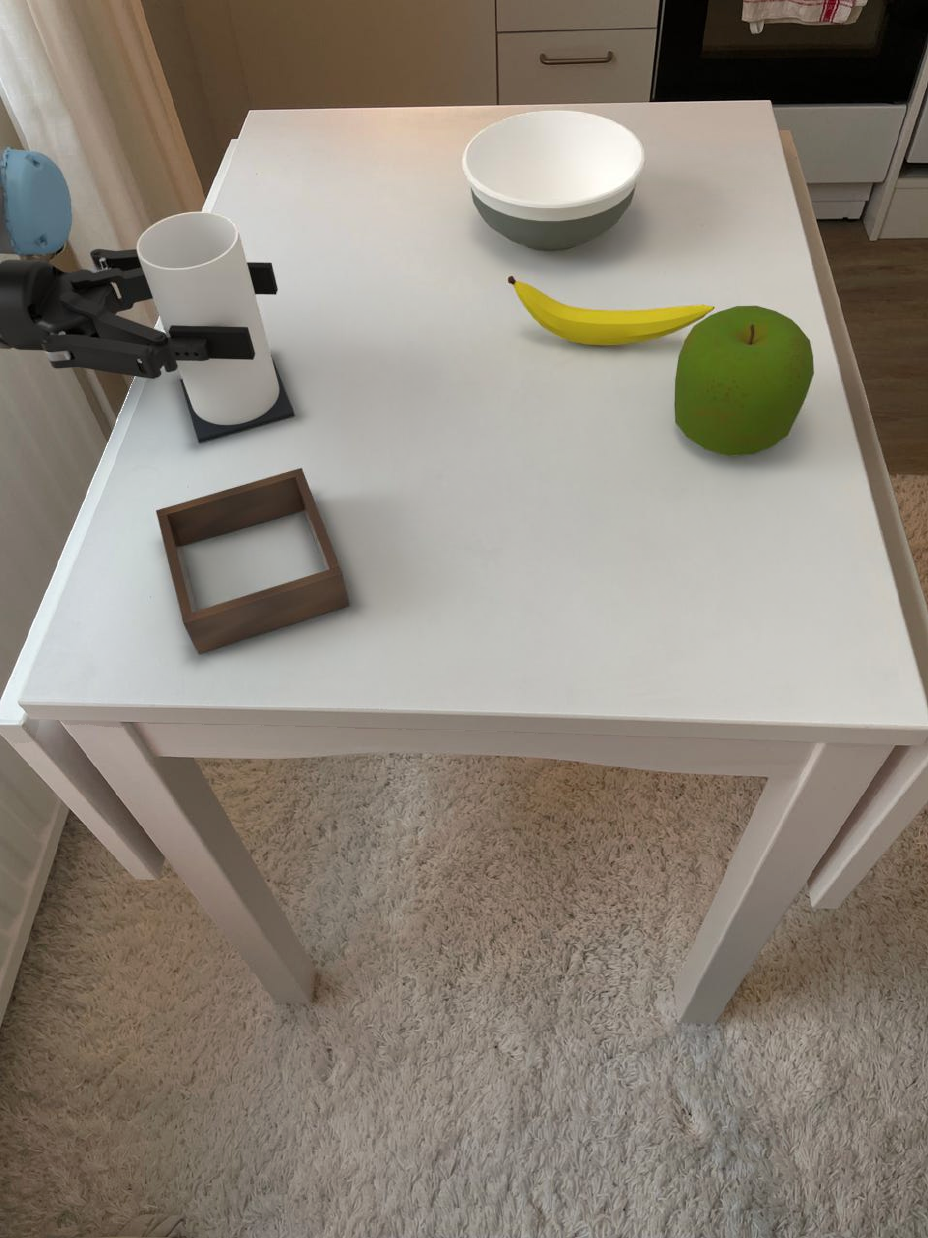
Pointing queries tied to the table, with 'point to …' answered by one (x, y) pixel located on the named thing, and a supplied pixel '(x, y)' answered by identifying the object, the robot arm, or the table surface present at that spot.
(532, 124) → the bowl
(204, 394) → the cup
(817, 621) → the table surface
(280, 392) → the pad
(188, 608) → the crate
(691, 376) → the apple
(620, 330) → the banana
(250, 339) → the robot arm
